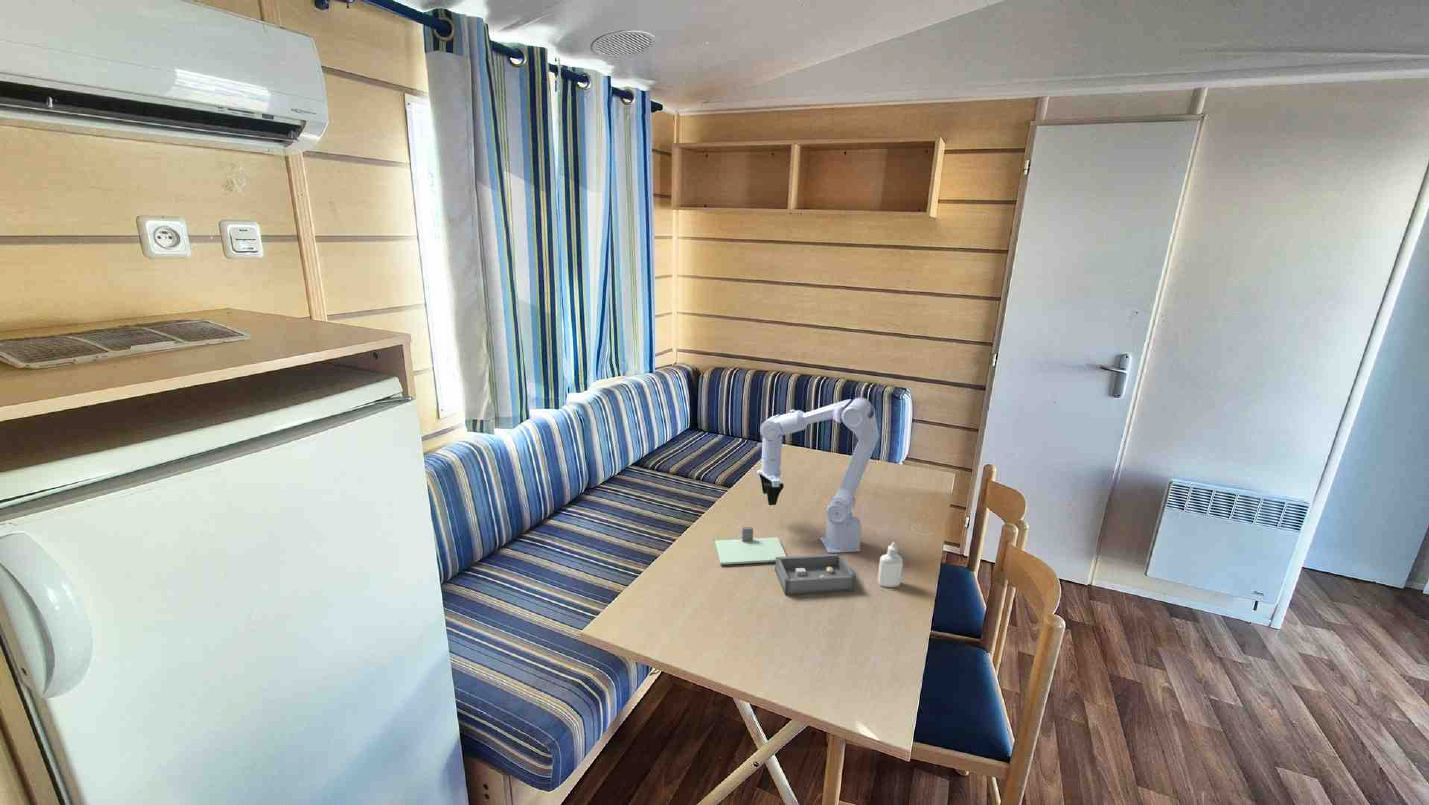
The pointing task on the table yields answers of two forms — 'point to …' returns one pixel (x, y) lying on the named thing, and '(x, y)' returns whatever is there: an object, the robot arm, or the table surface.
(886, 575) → the eye dropper bottle
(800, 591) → the parts tub
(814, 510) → the table surface
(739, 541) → the tub lid
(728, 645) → the table surface
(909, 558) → the table surface
